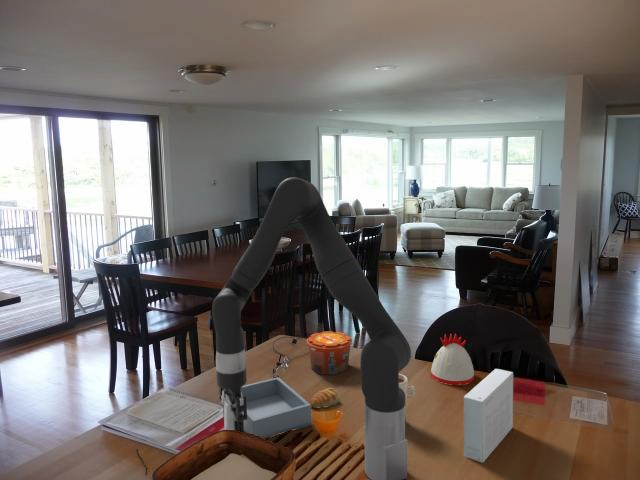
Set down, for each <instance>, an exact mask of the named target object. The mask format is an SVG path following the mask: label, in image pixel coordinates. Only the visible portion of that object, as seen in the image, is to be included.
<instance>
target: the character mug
mask: <svg viewBox="0 0 640 480" xmlns="http://www.w3.org/2000/svg"><path fill="white" fill-rule="evenodd" d="M399 387H400V388H401V389H402V390H403V391H404V393H405V403H406V402H407V400H408V398H414V397H415V396H416V393H415V392H416V388H415V386H414V385H409V379H408V377H407V376H406V375H404V374H402V373H399ZM409 390H410V391H411V392H410V393H408V392H409ZM406 419H407V418H406V416H405V422H406V421H407V420H406Z"/></svg>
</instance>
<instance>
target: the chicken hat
mask: <svg viewBox="0 0 640 480" xmlns="http://www.w3.org/2000/svg"><path fill="white" fill-rule="evenodd" d="M439 338H440V341H441V343H442V346H441V347H440V349H438V351H437V352H436V353H435V355H434V359H433V361H432V364H431V367H430V369H431V370H430V376H431V375H432V377H433V378H434V379H436V380H438V381H439V382H443V383H447V384H452V385H459V384H466V383H470V382H472V381H473V380H474V379H475V371H474V365H473V363H472V359H471V357H470V355H469V353H468V352H467V349H465V347H464V346H465V344H466V339H464V340H463V342H461V341H462V337H461V336H459V337H458V336H457V334H456V333H455V334H454V336H453V335H452V333H450V335H449V339H448V337H447V334H446V333H445V334H444V339H442V337H439ZM432 377H431V378H432ZM433 378H432V379H433ZM434 379H433V380H434ZM439 382H438V383H439ZM473 382H474V381H473ZM473 382H472V383H473ZM470 384H471V383H470ZM452 385H451V386H452Z"/></svg>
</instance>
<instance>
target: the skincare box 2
mask: <svg viewBox="0 0 640 480" xmlns="http://www.w3.org/2000/svg"><path fill="white" fill-rule="evenodd" d="M513 411H514V372H513V371H509V370H505V369H500V368H494V370H492V371H491V372H490V373H489V374H488V375H487V376H486V377H485V378H483V379H482V380H481V381H480V382H479V383H478V384H476V385H475V386H474V387H473V388H471V390H470V391H469V392H468V393H466V394H465V395H464V396H463V457H465V458H468V459H470V460H474V461H477V462H478V463H482V464H483V463H484V462H485V461H486V460H487V458H488V457H490V455H491V454H492V453H493V452H494V451H495V450H496V448H497V447H498V446H499V444H500V443H501V442H502V441H503V440H504V439H505V438H506V437H507V435H508V434H509V433H510V432H511V430H512V429H513V428H514V427H513V426H514V412H513Z"/></svg>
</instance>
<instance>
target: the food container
mask: <svg viewBox="0 0 640 480" xmlns="http://www.w3.org/2000/svg"><path fill="white" fill-rule="evenodd" d="M306 345H307V347H308V355H309V359H310V367H311V369H312V370H313V371H314V372H316V373H318V374H321V375H337V374H341V373H344V372H345V371H346V370H347V369H348V367H349V360H350V352H351V346H352V345H353V338H351V337H350V336H349V335H347V334H346V333H343V332H341V331H336V332H334V331H332V330H331V331H330V330H328V331H326V330H325V331H322V332H315V333H313V334H311V335H310V336H309V337H308V338H307V339H306Z"/></svg>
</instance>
